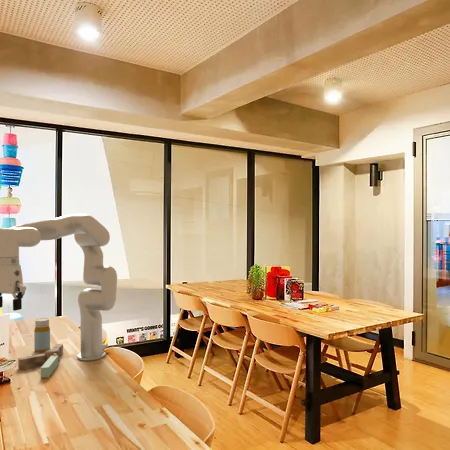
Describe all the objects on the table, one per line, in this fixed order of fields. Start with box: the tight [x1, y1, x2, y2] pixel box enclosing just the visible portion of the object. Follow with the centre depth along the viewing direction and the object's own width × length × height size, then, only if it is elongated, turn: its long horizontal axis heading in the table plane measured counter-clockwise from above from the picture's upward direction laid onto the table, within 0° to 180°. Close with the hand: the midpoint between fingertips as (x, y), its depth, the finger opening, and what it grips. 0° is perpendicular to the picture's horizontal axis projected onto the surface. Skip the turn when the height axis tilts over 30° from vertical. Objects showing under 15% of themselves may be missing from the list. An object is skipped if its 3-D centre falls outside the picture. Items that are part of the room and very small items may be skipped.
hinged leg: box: [40, 353, 59, 379], centre depth 173 cm, size 16×3×5 cm, turn 8°
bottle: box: [33, 317, 51, 353], centre depth 202 cm, size 7×7×15 cm
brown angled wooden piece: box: [17, 343, 64, 371], centre depth 185 cm, size 25×11×5 cm, turn 158°
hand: (7, 308), depth 150 cm, fingers open, 9 cm apart
